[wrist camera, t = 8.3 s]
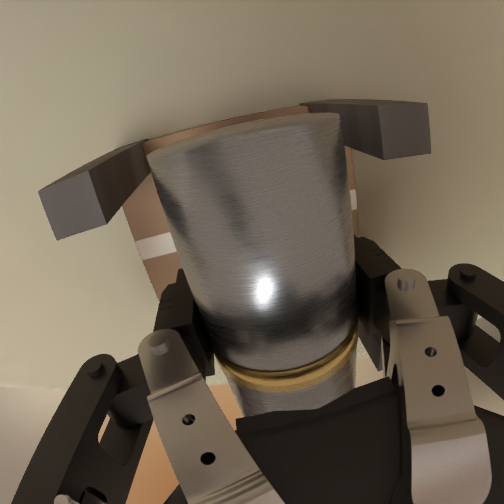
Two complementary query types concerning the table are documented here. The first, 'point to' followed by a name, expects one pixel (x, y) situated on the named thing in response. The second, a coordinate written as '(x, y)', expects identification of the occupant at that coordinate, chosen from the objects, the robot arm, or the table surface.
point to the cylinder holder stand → (134, 155)
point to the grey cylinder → (268, 254)
